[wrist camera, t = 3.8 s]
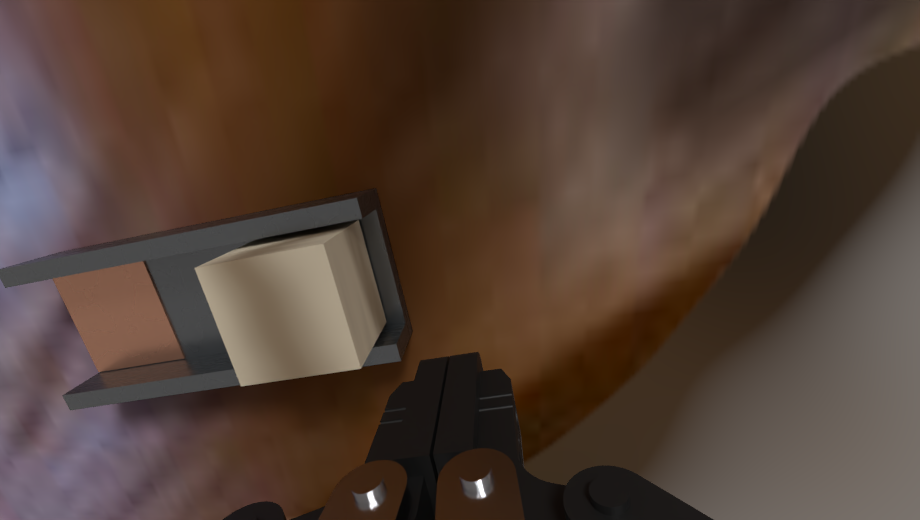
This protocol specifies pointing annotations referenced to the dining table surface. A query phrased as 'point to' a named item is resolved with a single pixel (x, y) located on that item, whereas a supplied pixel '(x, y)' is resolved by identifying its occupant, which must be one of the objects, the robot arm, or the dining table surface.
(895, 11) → the dining table surface
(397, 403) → the robot arm
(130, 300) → the chute
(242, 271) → the birch block
